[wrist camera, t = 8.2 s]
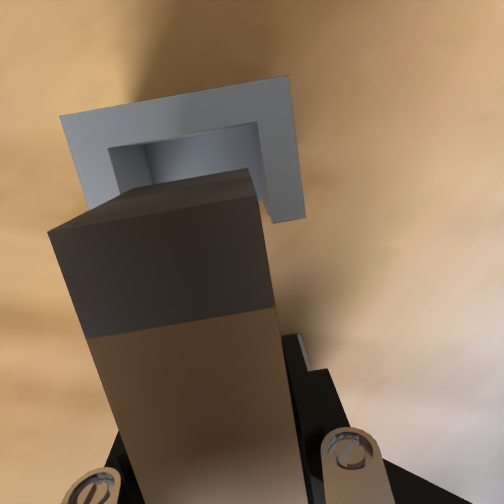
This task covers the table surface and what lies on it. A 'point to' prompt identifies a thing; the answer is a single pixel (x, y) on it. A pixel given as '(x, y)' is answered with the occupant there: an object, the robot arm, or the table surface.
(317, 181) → the table surface
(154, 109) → the post
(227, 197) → the rail
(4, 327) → the table surface
